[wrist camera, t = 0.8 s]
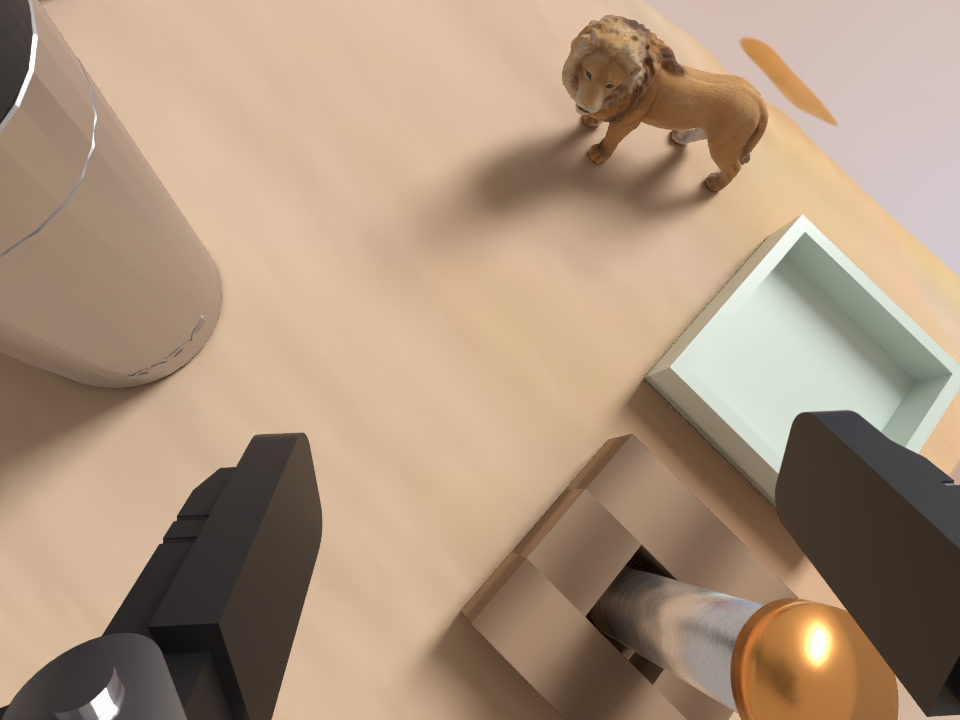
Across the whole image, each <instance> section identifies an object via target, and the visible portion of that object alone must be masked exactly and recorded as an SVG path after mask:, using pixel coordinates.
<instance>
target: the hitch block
mask: <svg viewBox="0 0 960 720" xmlns="http://www.w3.org/2000/svg"><path fill="white" fill-rule="evenodd" d="M632 556H633V557H634V558H635V559H636V560H637V561H638V562H639V563H640V564H641V565H642V566H643V567H644V568H645V569H646V570H647V571H648V572H649V573H652V574H655V575H659V576H663V577H666V578H670V579H673V580H677V581H680V582H684V583H687V584H691V585H694V586H698V587H702V588H705V589H709V590H712V591H716V592H719V593H723V594H726V595H730V596H734V597H737V598H741V599H744V600H748V601H751V602H755V603H758V604H762V605H766V604H768V603H770V602H772V601H775V600H778V599H784V598H798V597H797V596H796V595H795V594H794V593H793V592H792V591H791V590H790V589H789V588H788V587H787V586H786V585H785V584H784V583H783V582H782V581H781V580H780V579H779V578H778V577H777V576H776V575H775V574H774V573H773V572H772V571H771V570H770V569H769V568H768V567H767V566H766V565H765V564H764V563H763V562H762V561H761V560H760V559H759V558H758V557H757V556H756V555H755V554H754V553H753V552H752V551H751V550H750V549H749V548H748V547H747V546H746V545H745V544H744V543H743V542H742V541H741V540H740V539H739V538H738V537H737V536H735V535H734V534H733V533H732V532H731V531H730V530H729V529H728V528H727V527H726V526H725V525H724V524H723V523H722V522H721V521H720V520H719V519H718V518H717V517H716V516H715V515H714V514H713V513H712V512H711V511H710V510H709V509H708V508H707V507H706V506H705V505H704V504H703V503H702V502H701V501H700V500H699V499H698V498H697V497H696V496H695V495H694V494H693V493H692V492H691V491H690V490H689V489H688V488H687V487H686V486H685V485H684V484H683V483H682V482H681V481H680V480H679V479H678V478H677V477H676V476H675V475H674V474H673V473H672V472H671V471H670V470H669V469H668V468H667V467H666V466H665V465H664V464H663V463H662V462H661V461H660V460H659V459H658V458H657V457H656V456H655V455H654V454H653V453H652V452H651V451H650V450H649V449H648V448H647V447H646V446H645V445H644V444H643V443H642V442H641V441H640V440H639V439H638V438H637V437H636V436H635V435H634V434H630V435H626V436H621V437H617V438H613V439H609V440H608V441H607V442H606V444H605V445H604V446H603V447H602V448H601V449H600V450H599V452H598V453H597V454H596V455H595V456H594V457H593V459H592V460H591V461H590V462H589V463H588V464H587V466H586V467H585V468H584V469H583V470H582V471H581V472H580V474H579V475H578V476H577V477H576V478H575V479H574V481H573V482H572V483H571V484H570V485H569V486H568V487H567V489H566V490H565V491H564V492H563V493H562V494H561V496H560V497H559V498H558V499H557V500H556V501H555V502H554V504H553V505H552V506H551V507H550V508H549V509H548V511H547V512H546V513H545V514H544V515H543V516H542V518H541V519H540V520H539V521H538V522H537V523H536V524H535V526H534V527H533V528H532V529H531V530H530V531H529V533H528V534H527V535H526V536H525V537H524V538H523V539H522V541H521V542H520V543H519V544H518V545H517V546H516V548H515V549H514V550H513V551H512V552H511V553H510V555H509V556H508V557H507V558H506V559H505V560H504V561H503V563H502V564H501V565H500V566H499V567H498V568H497V570H496V571H495V572H494V573H493V574H492V575H491V576H490V578H489V579H488V580H487V581H486V582H485V583H484V585H483V586H482V587H481V588H480V589H479V590H478V592H477V593H476V594H475V595H474V596H473V597H472V598H471V600H470V601H469V602H468V603H467V604H466V605H465V607H464V608H463V609H462V610H461V612H462V613H463V614H464V615H465V617H466V618H467V619H468V621H469V622H470V623H471V624H472V625H473V626H474V627H475V628H476V629H477V631H478V632H479V633H480V634H481V635H482V636H483V637H484V638H485V639H486V640H487V641H488V642H489V643H490V644H491V645H492V646H493V647H494V648H495V649H496V650H497V651H498V652H499V653H500V654H501V655H502V656H503V657H504V658H505V659H506V660H507V661H508V662H509V663H510V664H511V665H512V666H513V667H514V668H515V669H516V670H517V671H518V672H519V673H520V674H521V675H522V676H523V677H524V678H525V679H526V680H527V681H528V682H529V683H530V684H531V685H532V686H533V687H534V689H535V690H536V691H537V692H538V693H539V694H540V695H541V696H542V697H543V698H544V699H545V700H546V701H547V702H548V703H549V704H550V705H551V706H552V707H553V708H554V709H555V710H556V711H557V712H558V713H559V714H560V715H561V716H562V717H563V718H564V719H565V720H729V718H730V716H731V715H732V713H733V712H734V711H733V710H732V709H730V708H728V707H726V706H725V705H723V704H721V703H720V702H718V701H716V700H715V699H713V698H711V697H710V696H708V695H706V694H705V693H703V692H701V691H700V690H698V689H696V688H695V687H693V686H691V685H690V684H688V683H686V682H685V681H683V680H681V679H680V678H678V677H676V676H675V675H673V674H671V673H670V672H668V671H666V670H665V669H663V668H661V667H660V666H658V665H656V664H654V663H653V662H651V661H649V660H648V659H646V658H644V657H643V656H641V655H639V654H638V653H636V652H635V654H634V655H633V656H632V658H631V659H630V660H629V661H628V660H627V659H626V658H625V657H624V656H623V655H622V654H621V653H620V652H619V651H618V650H617V649H616V648H615V647H614V646H613V645H612V644H611V643H610V642H609V641H608V640H607V639H606V638H605V637H604V636H603V635H602V634H601V633H600V632H599V631H598V630H597V629H596V628H595V627H594V625H593V624H592V623H591V622H590V621H589V620H588V619H587V618H586V617H585V616H586V615H587V614H588V612H589V611H590V610H591V608H592V607H593V606H594V605H595V603H596V602H597V601H598V599H599V598H600V597H601V596H602V594H603V593H604V592H605V591H606V589H607V588H608V587H609V585H610V584H611V583H612V582H613V580H614V579H615V578H616V576H617V575H618V574H619V573H620V571H621V570H622V569H623V568H624V566H625V565H626V564H627V562H628V561H629V560H630V559H631V557H632ZM798 599H799V598H798Z"/></svg>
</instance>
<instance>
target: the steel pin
mask: <svg viewBox="0 0 960 720" xmlns="http://www.w3.org/2000/svg"><path fill="white" fill-rule="evenodd" d="M589 612H590V615H591V618H592V620H593V622H594V623H595V625H596V626H597V627H598V628H599V630H601V631H602V632H603V633H604V634H606V635H608V636H609V637H611V638H613V639H614V640H616V641H618V642H619V643H621V644H623V645H624V646H626V647H628V648H629V649H631V650H633V651H634V652H636V653H638V654H639V655H641V656H643V657H644V658H646V659H648V660H649V661H651V662H653V663H654V664H656V665H658V666H660V667H661V668H663V669H665V670H666V671H668V672H670V673H671V674H673V675H675V676H676V677H678V678H680V679H681V680H683V681H685V682H686V683H688V684H690V685H691V686H693V687H695V688H696V689H698V690H700V691H701V692H703V693H705V694H706V695H708V696H710V697H711V698H713V699H715V700H716V701H718V702H720V703H721V704H723V705H725V706H726V707H728V708H730V709H732V710H733V711H735V712H737V713H738V714H739V716H740V718H741V720H897V718H898V690H897V683H896V678H895V674H894V672H893V671H892V670H891V668H890V667H889V666H888V664H887V663H886V662H885V660H884V659H883V658H882V656H881V655H880V654H879V652H878V651H877V650H876V648H875V647H874V646H873V644H872V643H871V642H870V640H869V639H868V638H867V636H866V635H865V634H864V632H863V631H862V630H861V628H860V627H859V626H858V624H857V623H856V622H855V620H854V619H853V618H852V616H851V615H850V614H849V612H847V611H845V610H842V609H840V608H837V607H833V606H829V605H825V604H821V603H817V602H813V601H808V600H804V599H798V598H784V599H778V600H775V601H772V602H770V603H768V604H766V605H762V604H758V603H755V602H751V601H748V600H744V599H741V598H737V597H734V596H730V595H726V594H723V593H719V592H716V591H712V590H709V589H705V588H702V587H698V586H694V585H691V584H687V583H684V582H680V581H677V580H673V579H670V578H666V577H663V576H659V575H655V574H652V573H648V572H645V571H641V570H638V569H634V568H631V567H627V566H624V568H623V569H622V570H621V571H620V573H619V574H618V575H617V576H616V578H615V579H614V580H613V582H612V583H611V584H610V585H609V587H608V588H607V589H606V591H605V592H604V593H603V594H602V596H601V597H600V598H599V599H598V601H597V602H596V603H595V605H594V606H593V607H592V608H591V610H590V611H589Z"/></svg>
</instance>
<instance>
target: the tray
mask: <svg viewBox="0 0 960 720" xmlns="http://www.w3.org/2000/svg"><path fill="white" fill-rule="evenodd" d="M644 379H645V380H646V381H647V382H648V383H649V384H650V385H651V386H652V387H653V388H654V389H655V390H656V391H657V392H658V393H659V394H660V395H661V396H662V397H663V398H664V399H666V400H667V401H668V402H669V403H670V404H671V405H672V406H673V407H674V408H675V409H676V410H677V411H678V412H679V413H680V414H681V415H682V416H683V417H684V418H685V419H686V420H687V421H688V422H689V423H690V424H691V425H692V426H693V427H694V428H695V429H696V430H697V431H698V432H699V433H700V434H701V435H702V436H703V437H704V438H705V439H706V440H707V441H708V442H709V443H710V444H711V445H712V446H713V447H714V448H715V449H716V450H717V451H718V452H719V453H720V454H721V455H722V456H723V457H724V458H725V459H726V460H727V461H728V462H729V463H730V464H731V465H733V466H734V467H735V468H736V469H737V470H738V471H739V472H740V473H741V474H742V475H743V476H744V477H745V478H746V479H747V480H748V481H749V482H750V483H751V484H752V485H753V486H754V487H755V488H756V489H757V490H758V491H759V492H760V493H761V494H762V495H763V496H764V497H765V498H766V499H767V500H768V501H769V502H770V503H771V504H772V505H773V506H774V507H775V508H776V504H775V487H776V482H777V478H778V475H779V471H780V467H781V463H782V459H783V456H784V452H785V448H786V444H787V440H788V437H789V433H790V429H791V426H792V423H793V421H794V419H795V417H796V416H797V415H798V414H800V413H802V412H815V411H837V410H851V411H854V412H856V413H858V414H859V415H861V416H862V417H863V418H864V419H865V420H867V421H868V422H869V423H870V424H872V425H873V426H874V427H875V428H876V429H878V430H879V431H880V432H881V433H883V434H884V435H885V436H886V437H887V438H889V439H890V440H892V441H893V442H895V443H897V444H899V445H901V446H903V447H905V448H907V449H909V450H911V451H913V452H915V453H917V454H918V453H919V451H920V450H921V448H922V447H923V445H924V443H925V442H926V440H927V439H928V437H929V436H930V434H931V432H932V431H933V429H934V428H935V426H936V425H937V423H938V421H939V420H940V418H941V417H942V415H943V414H944V412H945V410H946V409H947V407H948V406H949V404H950V403H951V401H952V399H953V398H954V396H955V395H956V393H957V392H958V390H959V388H960V365H959V364H958V363H957V362H956V361H955V360H953V359H952V358H951V357H950V356H949V355H948V354H947V353H946V352H945V351H944V350H943V349H942V348H941V347H940V346H939V345H938V344H937V343H936V342H935V341H934V340H933V339H932V338H931V337H930V336H929V335H927V334H926V333H925V332H924V331H923V330H922V329H921V328H920V327H919V326H918V325H917V324H916V323H915V322H914V321H913V320H912V319H911V318H910V317H909V316H908V315H907V314H906V313H905V312H904V311H902V310H901V309H900V308H899V307H898V306H897V305H896V304H895V303H894V302H893V301H892V300H891V299H890V298H889V297H888V296H887V295H886V294H885V293H884V292H883V291H882V290H881V289H880V288H879V287H878V286H876V285H875V284H874V283H873V282H872V281H871V280H870V279H869V278H868V277H867V276H866V275H865V274H864V273H863V272H862V271H861V270H860V269H859V268H858V267H857V266H856V265H855V264H854V263H853V262H851V261H850V260H849V259H848V258H847V257H846V256H845V255H844V254H843V253H842V252H841V251H840V250H839V249H838V248H837V247H836V246H835V245H834V244H833V243H832V242H831V241H830V240H829V239H828V238H826V237H825V236H824V235H823V234H822V233H821V232H820V231H819V230H818V229H817V228H816V227H815V226H814V225H813V224H812V223H811V222H810V221H809V220H808V219H807V218H806V217H805V216H804V215H803V214H802V215H800V216H799V217H797V218H796V219H794V220H792V221H791V222H789V223H788V224H786V225H785V226H783V227H782V228H780V229H779V230H777V231H776V232H774V233H772V234H771V235H769V236H768V237H767V238H766V240H765V241H764V242H763V243H762V244H761V245H760V246H759V248H758V249H757V250H756V251H755V252H754V253H753V254H752V256H751V257H750V258H749V259H748V260H747V261H746V262H745V264H744V265H743V266H742V267H741V268H740V269H739V270H738V271H737V273H736V274H735V275H734V276H733V277H732V278H731V279H730V281H729V282H728V283H727V284H726V285H725V286H724V287H723V289H722V290H721V291H720V292H719V293H718V294H717V295H716V297H715V298H714V299H713V300H712V301H711V302H710V303H709V304H708V306H707V307H706V308H705V309H704V310H703V311H702V312H701V314H700V315H699V316H698V317H697V318H696V319H695V320H694V322H693V323H692V324H691V325H690V326H689V327H688V328H687V330H686V331H685V332H684V333H683V334H682V335H681V336H680V337H679V339H678V340H677V341H676V342H675V343H674V344H673V345H672V347H671V348H670V349H669V350H668V351H667V352H666V353H665V355H664V356H663V357H662V358H661V359H660V360H659V361H658V363H657V364H656V365H655V366H654V367H653V368H652V369H651V370H650V372H649V373H648V374H647V375H646V376H645V377H644Z"/></svg>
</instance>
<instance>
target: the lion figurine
mask: <svg viewBox="0 0 960 720" xmlns="http://www.w3.org/2000/svg"><path fill="white" fill-rule="evenodd" d="M562 81H563V85H564V86H565V88H566V89H567V91H568V93H569V95H570V96H571V98H572V99H573V100H574V101H575V102H576V111H577V112H578V113H579V114H581V115H583V119H584V123H585V124H587V125H589V126H597V125H599V124H601V123H602V122H603V121H604V122H609V127H608V131H607V133H606V136H605V138H604V139H602V141H601V142H600V143H599V144H595V145H593V146H592V147H591V148H590V151H589V153H588V154H589V156H590V158H591V159H592V160H593V161H594V162H595V163H596V164H600V163H602V162H604V161H605V160H607V159H608V158H609V157H610V156H611V155H612V153H613V152H614V150H615V149H616V147H617V145H618V143H619V142H620V141H621V140H622V139H623V138H624V137H625V136H626V135H627V134H629V133H630V132H631V131H632V130H634V129H636V128H637V127H638V126H639V124H640V122H643V123H646V124H649V125H652V126H654V127H658V128H662V129H669V130H672V135H671V136H672V139H673V140H674V141H675V142H677V143H679V144H687V143H690V142H695V141H699V140H704V139H708V146H709V151H710V154H711V157H712V159H713V160H714V162H715V163H716V164H717V166H718V167H719V168H720V170H721V171H722V173H721V174H720V173H711V174H710V175H709V176H708V177H707V178H706V183H707V186H708V188H709V189H710V190H712V191H719V190H722V189H723V188H724V187H726V186H727V185H728V184H729V183H730V182H731V180H732V179H733V178H734V177H735V176H736V175H737V173H738V172H739V171H740V169H741V164H742V165H743V164H744V163H747V162H749V160H750V154H749V153H750V152H751V151H752V150H753V148H754V147H755V146H756V144H757V143H758V142H759V140H760V139H761V137H762V135H763V133H764V132H765V129H766V126H767V123H768V111H767V107H766V104H765V102H764V101H763V99H762V98H761V95H760V93H759V92H758V91H757V90H756V89H755V88H754V87H753V86H752V85H751V84H750V83H749V82H748V81H746V80H745V79H744V78H742V77H738V76H733V75H721V74H713V73H708V72H704V71H699V70H695V69H692V68H689V67H687V66H684V65H681V64H678V63H677V61H676V59H675V56H674V53H673V51H672V50H671V48H670V47H668V46H667V45H665V44H664V42H663V41H662V40H660V39H657V37H656V34H655V33H650V30H649V29H645V25H643V24H639V23H638V22H637V21H635V20H630V19H629V20H628V19H626V18H624V17H621V16H613V15H606V16H604V17H603V18H602V19H601V20H600V21H596V20H591V21H590V22H589V25H587V26H586V27H585V28H584V29H583V30H582V31H581V32H580V33H579V35H578V36H577V37H576V38H575V39H574V40H573V41H572V44H571V52H570V54H569V56H568V58H567V60H566V62H565V64H564V67H563V72H562ZM693 128H695V129H693ZM689 129H693V130H689Z"/></svg>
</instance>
